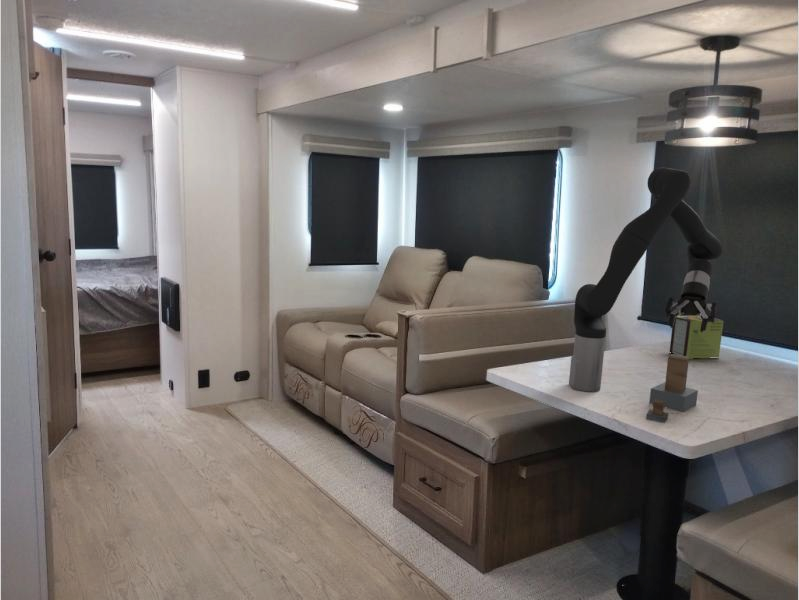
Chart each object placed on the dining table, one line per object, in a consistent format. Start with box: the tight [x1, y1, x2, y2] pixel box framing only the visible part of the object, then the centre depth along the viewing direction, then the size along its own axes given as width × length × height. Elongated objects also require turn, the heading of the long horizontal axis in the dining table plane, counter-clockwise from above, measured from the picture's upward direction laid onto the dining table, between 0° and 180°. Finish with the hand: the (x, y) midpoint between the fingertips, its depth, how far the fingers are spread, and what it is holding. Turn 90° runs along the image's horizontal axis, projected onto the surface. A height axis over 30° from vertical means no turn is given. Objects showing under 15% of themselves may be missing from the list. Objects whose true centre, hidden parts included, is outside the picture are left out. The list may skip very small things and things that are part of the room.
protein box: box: [669, 315, 724, 360], centre depth 246 cm, size 10×15×16 cm
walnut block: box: [665, 353, 690, 393], centre depth 184 cm, size 5×5×10 cm
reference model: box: [645, 399, 669, 424], centre depth 172 cm, size 5×5×5 cm
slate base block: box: [648, 381, 699, 413], centre depth 185 cm, size 10×10×5 cm
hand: (686, 328), depth 191 cm, fingers open, 8 cm apart
